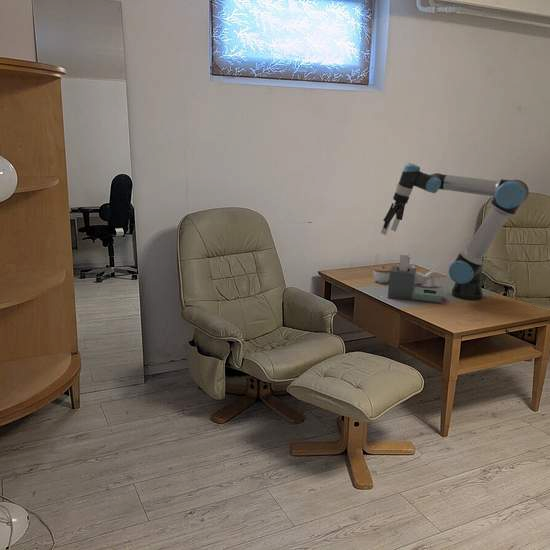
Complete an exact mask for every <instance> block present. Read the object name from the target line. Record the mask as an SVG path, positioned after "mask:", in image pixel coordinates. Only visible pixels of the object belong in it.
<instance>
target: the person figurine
mask: <svg viewBox="0 0 550 550" xmlns="http://www.w3.org/2000/svg"><path fill="white" fill-rule="evenodd" d="M408 266H411V268H416V269H417V267H416V266H415V263H414V262H409V264H408ZM435 276H436V272H435V270H432V271H428V272H427V273H426V274H423V273H422V272H419V271H417V270H416V279H415V284H417V285H420V284H421V285H426V284H427V282H428V281H429V280H430V287H433V288H437V287H438V286H437V285H436V284H435V283H434V282H435V281H434V280H435Z"/></svg>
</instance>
